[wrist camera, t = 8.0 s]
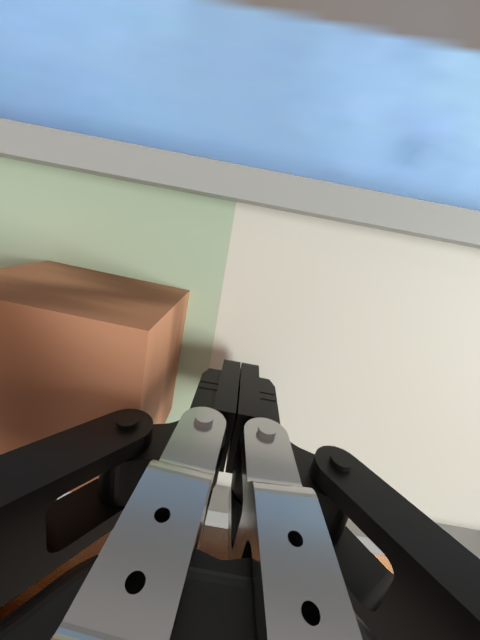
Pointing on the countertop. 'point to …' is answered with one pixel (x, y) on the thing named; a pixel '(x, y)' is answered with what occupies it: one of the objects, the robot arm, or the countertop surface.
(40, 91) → the countertop surface
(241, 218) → the trap channel
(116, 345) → the block
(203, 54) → the countertop surface
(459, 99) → the countertop surface
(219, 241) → the pad
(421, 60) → the countertop surface
